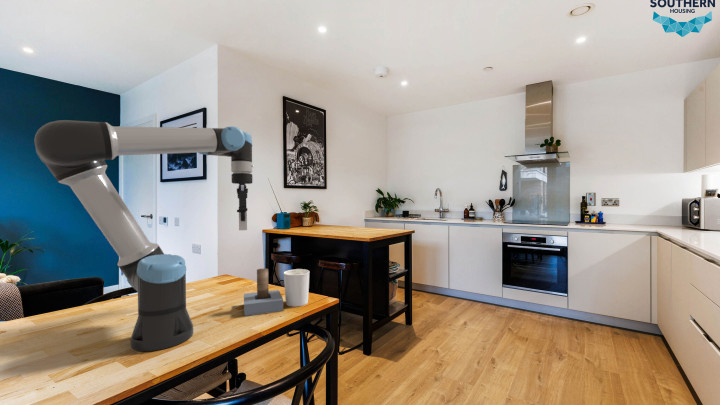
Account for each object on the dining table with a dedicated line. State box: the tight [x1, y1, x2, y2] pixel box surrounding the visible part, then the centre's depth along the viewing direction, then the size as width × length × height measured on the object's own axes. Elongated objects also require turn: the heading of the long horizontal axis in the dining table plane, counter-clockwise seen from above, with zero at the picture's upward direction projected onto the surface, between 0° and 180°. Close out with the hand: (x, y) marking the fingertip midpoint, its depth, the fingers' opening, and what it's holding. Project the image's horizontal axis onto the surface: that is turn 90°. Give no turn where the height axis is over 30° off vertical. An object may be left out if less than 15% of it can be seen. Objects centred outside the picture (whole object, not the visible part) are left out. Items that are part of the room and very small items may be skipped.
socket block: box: [243, 289, 284, 317], centre depth 115 cm, size 13×13×4 cm
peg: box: [256, 267, 270, 300], centre depth 115 cm, size 4×4×14 cm
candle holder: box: [283, 268, 310, 308], centre depth 119 cm, size 10×10×12 cm
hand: (242, 228), depth 119 cm, fingers open, 13 cm apart
